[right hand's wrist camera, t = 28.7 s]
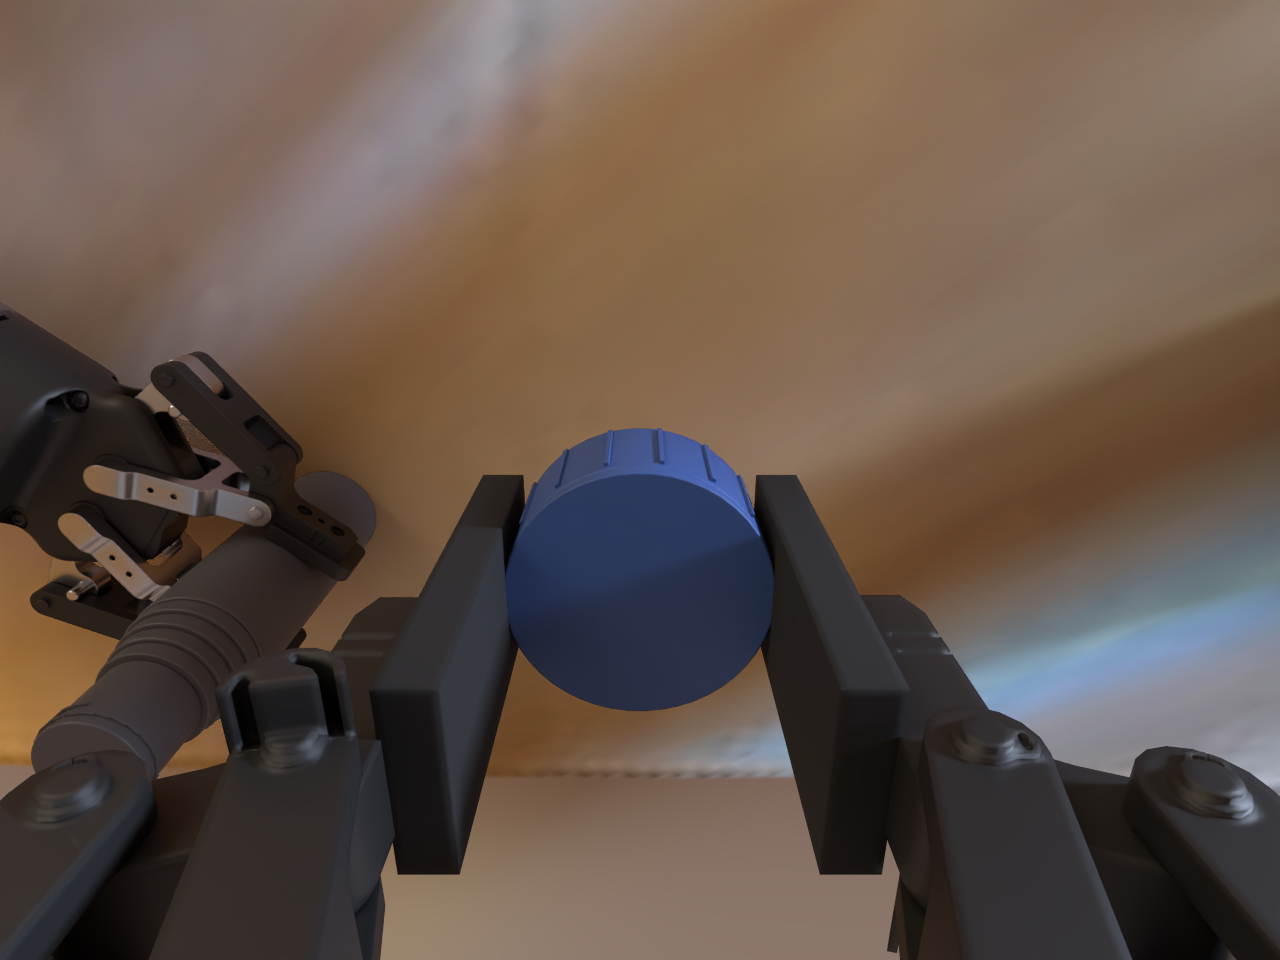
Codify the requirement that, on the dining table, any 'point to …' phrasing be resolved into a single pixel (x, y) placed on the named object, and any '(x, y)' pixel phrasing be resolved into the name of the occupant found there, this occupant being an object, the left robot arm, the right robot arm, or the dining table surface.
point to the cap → (639, 572)
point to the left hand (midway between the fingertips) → (323, 608)
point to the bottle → (201, 639)
